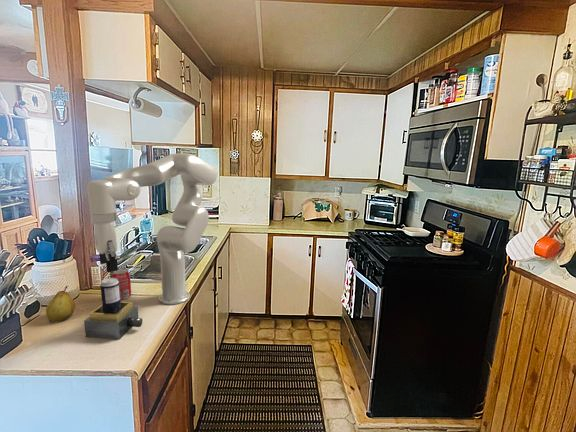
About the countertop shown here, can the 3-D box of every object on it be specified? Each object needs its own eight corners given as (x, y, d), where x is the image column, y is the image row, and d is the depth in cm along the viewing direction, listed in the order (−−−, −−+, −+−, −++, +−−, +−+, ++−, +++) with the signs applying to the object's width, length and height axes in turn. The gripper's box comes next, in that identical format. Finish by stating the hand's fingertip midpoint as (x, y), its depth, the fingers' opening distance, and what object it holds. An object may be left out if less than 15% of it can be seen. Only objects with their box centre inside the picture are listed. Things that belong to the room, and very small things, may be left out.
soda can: (121, 293, 143) (118, 267, 140) (135, 295, 141) (133, 269, 139) (109, 300, 136) (106, 273, 133) (124, 302, 134) (121, 274, 132)
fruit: (42, 325, 115) (38, 293, 113) (55, 313, 124) (51, 283, 122) (69, 323, 117) (66, 292, 115) (80, 311, 126) (77, 282, 124)
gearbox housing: (107, 319, 120) (105, 299, 119) (149, 321, 119) (147, 301, 118) (85, 337, 109) (83, 315, 107) (131, 340, 108) (129, 317, 106)
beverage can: (124, 308, 116) (121, 277, 114) (116, 316, 111) (113, 283, 108) (108, 308, 116) (105, 277, 114) (99, 316, 110) (96, 283, 108)
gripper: (85, 215, 111) (91, 262, 114) (96, 224, 98) (102, 277, 101) (110, 212, 116) (114, 258, 119) (123, 221, 103) (128, 271, 106)
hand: (109, 267), depth 110 cm, fingers open, 9 cm apart
